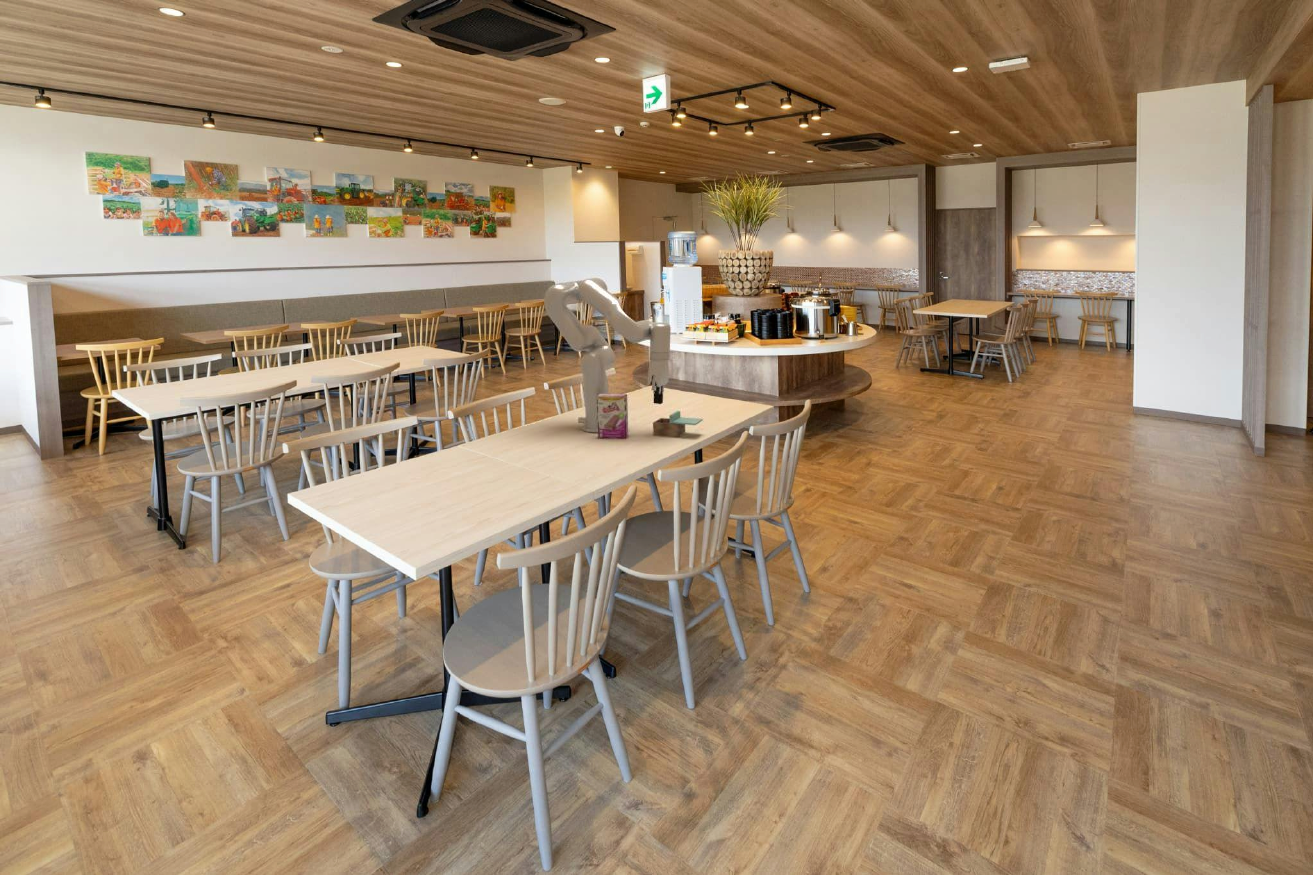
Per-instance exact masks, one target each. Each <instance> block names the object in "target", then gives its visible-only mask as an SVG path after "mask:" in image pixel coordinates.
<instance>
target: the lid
mask: <svg viewBox="0 0 1313 875" xmlns="http://www.w3.org/2000/svg"><path fill="white" fill-rule="evenodd" d="M669 421H670V423H673V424H685V426H687V425H688V426H696V425H698V424H700V423H701V422H703V421H704V419H703V418H698V417H697V418H696V417H695V418H694V417H684V416H683V417H682V416H681V410H676V411H675V412H673V413H671V414H670V415H669Z"/></svg>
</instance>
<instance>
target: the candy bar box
mask: <svg viewBox="0 0 1313 875" xmlns="http://www.w3.org/2000/svg"><path fill="white" fill-rule="evenodd" d="M628 408H629V406H628V394H626V393H609V394H599V395H598V396H597V415H598V432H597V434H598V435H597V437H598V439H627V438H628V436H629V414H628V413H629V409H628Z"/></svg>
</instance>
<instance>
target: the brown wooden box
mask: <svg viewBox="0 0 1313 875" xmlns="http://www.w3.org/2000/svg"><path fill="white" fill-rule="evenodd" d="M652 433H653V434H652V435H653V436H658V437H667V438H668V437H669V438H670V437H671V438H679V437H680V436H682V435H683V434H685V433H686V424H673V423H670V421H669V418H666V417H661V418H659V419H657V420H655V421H654V422H652Z"/></svg>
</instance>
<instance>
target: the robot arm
mask: <svg viewBox="0 0 1313 875" xmlns="http://www.w3.org/2000/svg"><path fill="white" fill-rule="evenodd" d="M543 303H544V304H543V305H544V310H545V312H546V314H547V316H548V317H549V318H550V320H551V321H552V322H553V324H554V325H555V327H556V328H557V329H558V330H559V332H560V334H561V335H562V337H563V338H564V339H565V341H566V342H567V343H568V346H570V348H571V350H574V351H575V352H583V351H586V353H585V354H583V356H582V358H581V359H580V370H581V373H582V380H583V393H584V410H585V411H584V412H585V417H583V416H582V417H581V416H579V417H578V419H577V423H578V424H583V425H582V431H584V432H587V433H598V415H597V396H598V395H599V394H610V391H609V381H608V378H607V373H606V372H607V371H609V370H611V369H612V368H613V367H614V366H615V365H616V355H615V352H614V350H613V349H612V347H611V346H610V344H609V343H608V341H607V340H606V339H605V337H604V336H603V334H602V333H601V332H600V330H599V329H598V328H596V327H595V326H593V325H591V324H584V325H583V324H582V323H581V322H580V320H579V319H578V317H577V316H576V314H575V313H574V312H573V311H572V310H571V309H570V308H569V306H567V305H573V304H579V303H586V304H587V305H588V306H590V307H591V308H593V309H594V310H595V311H597V312H598V313H599V314H601V315H602V316H603V317H604V318H605V319H606V321H607V322H608V324H609V325H610V326H611V327H612V329H613V330H614V331H615V332H617V333H618V334H619V335H620V336H621V337H623V338H624V339H626V340H627V341H629V342H631V343H633V344H638V343H642V342H645V341H649V343H650V344H649V362H648V363H649V365H648V370H647V371H648V372H647V386H648V387H651V391H652V392H653V393H652V394H653V404H654V405H655V404H656V405H661V404H663V403H664V391H665V387H666V385H667V384H668V382H669V375H670V374H669V373H670V370H669V368H670V366H669V365H670V363H669V361H670V358H671V331H672V330H671V325H670V324H669V323H667V322H654V321H651V320H650V321H649V320H647V319H646V320H644V319H643V320H638V321H635V320H633V319H632V318H631V317H630V316H628V315H627V314H626V313H625V312H624V311H623V308H622V307H621V301H620V299H619V298H618V297H616V296H615V295H614V294H612V293H611V292H609V291H608V286H607V284H606V281H604V280H603V279H601V278H598V277H591V278H586V279H581V280H575V281H573V280H572V281H566V282H559V283H555V284H553V285H551V286H550V287H549V288H548V289H547V290H546V292H545V294H544V299H543Z"/></svg>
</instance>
